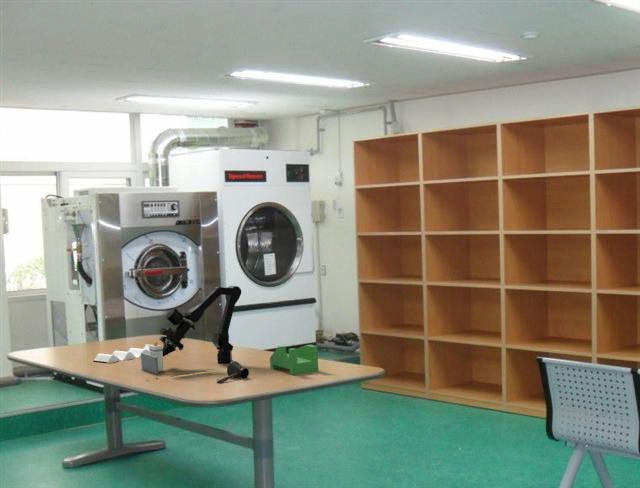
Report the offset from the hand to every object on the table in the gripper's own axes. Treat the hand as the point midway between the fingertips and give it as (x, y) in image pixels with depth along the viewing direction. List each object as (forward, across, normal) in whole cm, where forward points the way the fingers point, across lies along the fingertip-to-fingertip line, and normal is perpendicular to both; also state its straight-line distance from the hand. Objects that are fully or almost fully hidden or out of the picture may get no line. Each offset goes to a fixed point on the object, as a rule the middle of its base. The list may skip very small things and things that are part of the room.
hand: (160, 356), depth 411 cm
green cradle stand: (-28, +46, +40) cm, 67 cm away
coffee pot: (-5, +45, +16) cm, 48 cm away
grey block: (+5, 0, +5) cm, 7 cm away
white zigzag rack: (+4, -60, +8) cm, 61 cm away
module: (+6, 0, +3) cm, 7 cm away
